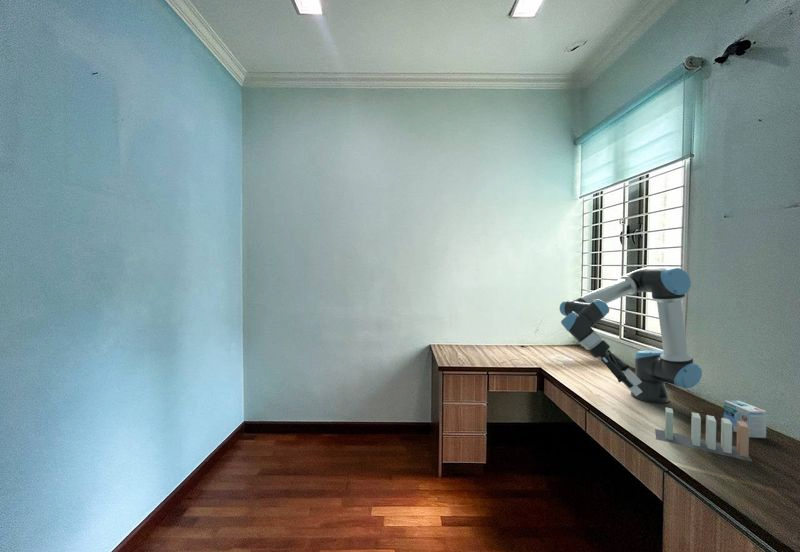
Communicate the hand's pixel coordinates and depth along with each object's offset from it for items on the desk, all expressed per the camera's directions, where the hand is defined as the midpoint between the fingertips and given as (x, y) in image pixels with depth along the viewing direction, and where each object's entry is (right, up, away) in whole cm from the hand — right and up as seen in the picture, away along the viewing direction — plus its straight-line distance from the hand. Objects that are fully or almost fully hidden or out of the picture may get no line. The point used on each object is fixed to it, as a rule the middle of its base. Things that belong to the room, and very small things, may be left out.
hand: (639, 388), depth 131 cm
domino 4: (+20, -16, -14) cm, 30 cm away
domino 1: (+7, -16, -5) cm, 19 cm away
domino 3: (+17, -16, -12) cm, 26 cm away
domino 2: (+14, -16, -9) cm, 23 cm away
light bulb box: (+40, -17, 0) cm, 44 cm away
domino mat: (+14, -17, -10) cm, 25 cm away
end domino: (+23, -17, -16) cm, 33 cm away
